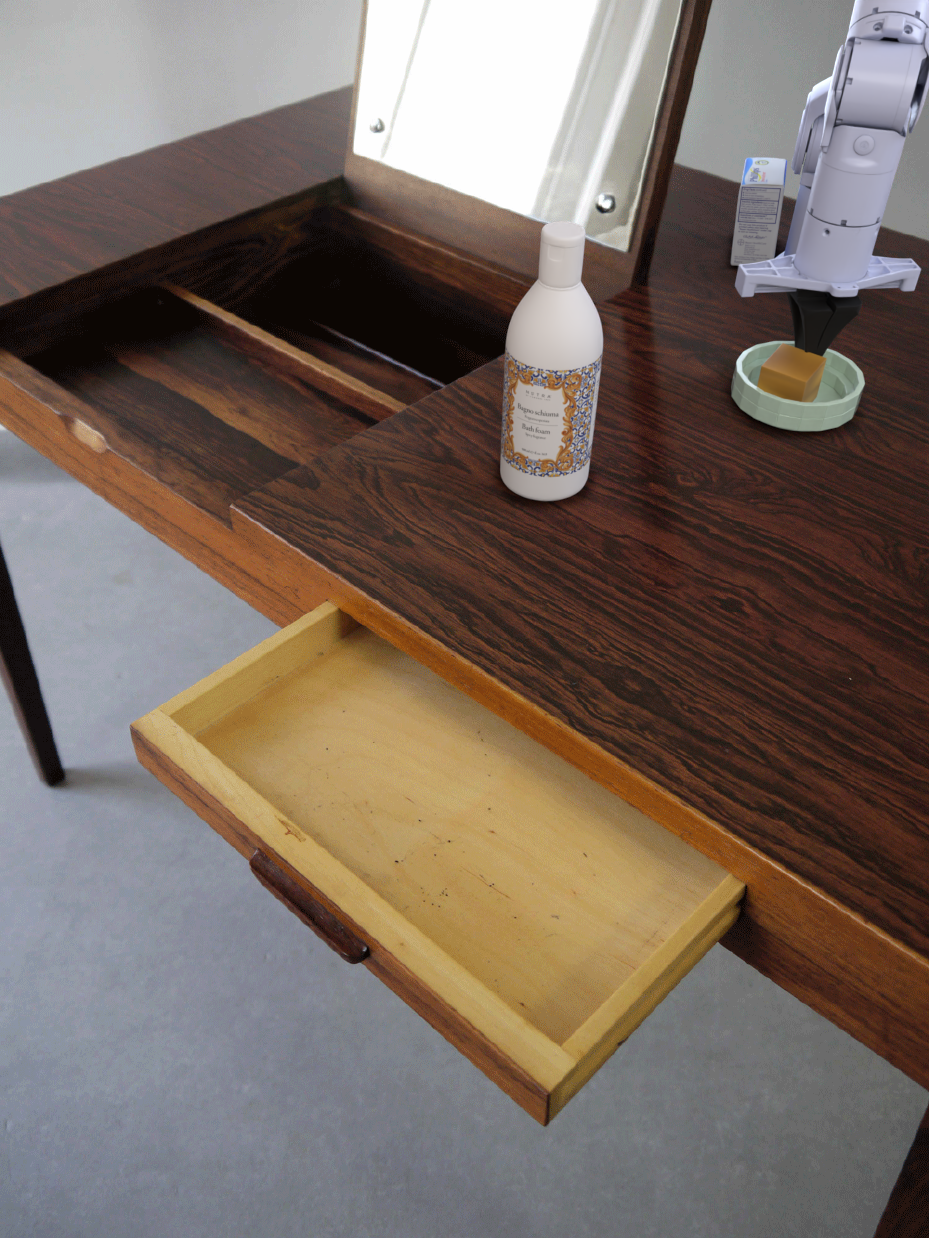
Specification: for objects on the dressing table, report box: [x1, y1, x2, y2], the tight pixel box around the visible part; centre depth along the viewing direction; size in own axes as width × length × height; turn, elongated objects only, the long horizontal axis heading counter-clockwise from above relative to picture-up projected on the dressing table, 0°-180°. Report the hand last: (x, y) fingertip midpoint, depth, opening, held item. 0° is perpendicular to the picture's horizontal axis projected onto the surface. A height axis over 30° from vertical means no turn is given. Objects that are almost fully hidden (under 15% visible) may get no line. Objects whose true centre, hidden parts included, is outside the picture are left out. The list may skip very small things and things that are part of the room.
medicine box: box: [730, 157, 788, 267], centre depth 110 cm, size 8×4×9 cm, turn 166°
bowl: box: [730, 340, 866, 432], centre depth 91 cm, size 11×11×3 cm
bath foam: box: [499, 220, 604, 502], centre depth 76 cm, size 7×7×20 cm
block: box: [757, 343, 827, 402], centre depth 89 cm, size 4×4×4 cm
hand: (803, 368), depth 91 cm, fingers closed, pressing on block
